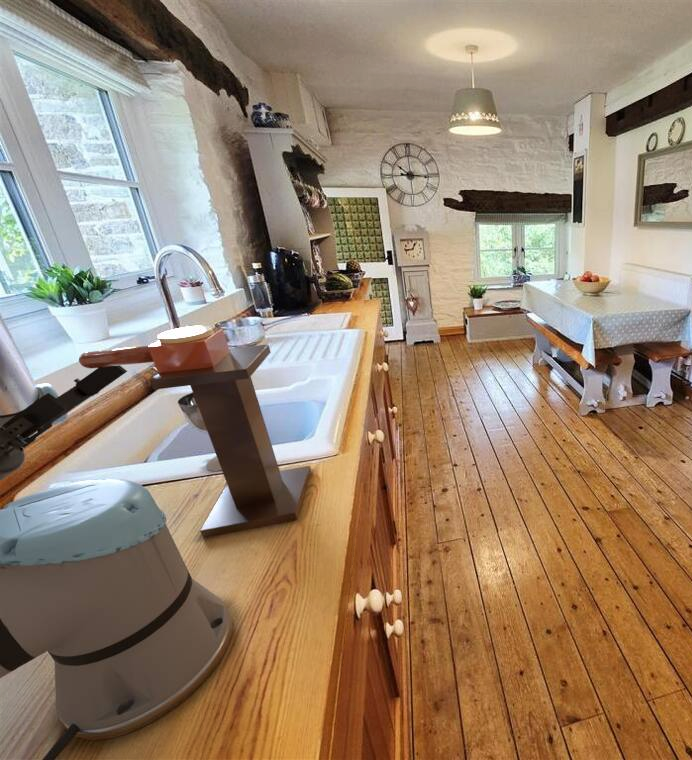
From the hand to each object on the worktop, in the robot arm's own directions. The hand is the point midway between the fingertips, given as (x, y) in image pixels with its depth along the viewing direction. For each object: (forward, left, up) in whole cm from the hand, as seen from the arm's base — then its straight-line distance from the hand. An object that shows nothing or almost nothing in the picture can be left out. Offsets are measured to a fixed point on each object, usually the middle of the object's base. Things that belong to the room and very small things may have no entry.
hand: (91, 381), depth 59 cm
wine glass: (+17, +6, -26) cm, 31 cm away
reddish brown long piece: (+5, -7, +1) cm, 9 cm away
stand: (+10, -13, -26) cm, 31 cm away
